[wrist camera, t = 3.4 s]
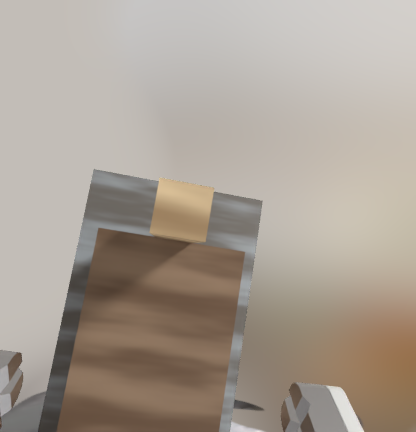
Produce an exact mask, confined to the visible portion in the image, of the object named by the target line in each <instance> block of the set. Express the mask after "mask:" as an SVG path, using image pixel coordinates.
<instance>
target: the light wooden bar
mask: <svg viewBox="0 0 416 432" xmlns="http://www.w3.org/2000/svg"><path fill="white" fill-rule="evenodd" d="M213 193H214V188H212V187H207V186H202V185H196V184H191V183H186V182H180V181H175V180H170V179H165V178H159V184H158V189H157V194H156V200H155V205H154V211H153V216H152V221H151V227H150V232H149V233H150V234H152V235H153V236H154V237H159V238H165V239H171V240H177V241H183V242H189V243H202V242H206V236H207V230H208V224H209V218H210V212H211V205H212V199H213Z"/></svg>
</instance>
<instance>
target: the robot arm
mask: <svg viewBox="0 0 416 432" xmlns="http://www.w3.org/2000/svg"><path fill="white" fill-rule="evenodd" d="M21 362H22V355H21V353H18V352H11V351H3V350H0V428H1V427H2V424H1V416H3V415H4V414H5V413H7V412H8V411H9V410H11V409H12V407H13V405H14V403H15V402H16V400H17V398H18V395H19V393H20V390H21V387H22V382H23V372H22V371H21V370H20V369H19V368H18V367H19V366H20V364H21ZM289 391H290V396H289V397H287V398H286V399H285V400H284V402H283V405H282V409H281V421H282V427H283V431H284V432H364V431H363V429H362V427H361V425H360V423H359V421H358V419H357V417H356V415H355V413H354V411H353V409H352V407H351V405H350V403H349V400H348V398H347V396H346V394H345V392H344V391H343V390H342V389H341V388H340V387H334V386H324V385H318V384H308V383H297V382H295V383H293V384H292V385H291V387H290V389H289Z"/></svg>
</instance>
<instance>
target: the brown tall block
mask: <svg viewBox="0 0 416 432" xmlns="http://www.w3.org/2000/svg"><path fill="white" fill-rule="evenodd" d="M158 184H159V181H154V180H148V179H143V178H137V177H132V176H127V175H121V174H116V173H111V172H106V171H100V170H95V169H94V171H93V176H92V180H91V185H90V190H89V195H88V199H87V204H86V209H85V213H84V218H83V223H82V227H81V232H80V237H79V242H78V246H77V251H76V256H75V260H74V265H73V270H72V274H71V280H70V284H69V289H68V293H67V298H66V303H65V307H64V312H63V317H62V322H61V326H60V331H59V336H58V341H57V345H56V350H55V355H54V359H53V364H52V369H51V373H50V378H49V383H48V387H47V392H46V397H45V402H44V406H43V411H42V416H41V420H40V425H39V430H38V432H230V427H231V420H232V413H233V406H234V399H235V392H236V385H237V377H238V371H239V363H240V356H241V349H242V342H243V335H244V328H245V321H246V314H247V307H248V300H249V293H250V286H251V279H252V271H253V265H254V258H255V251H256V244H257V237H258V230H259V223H260V216H261V208H262V201H260V200H255V199H250V198H244V197H239V196H234V195H228V194H223V193H218V192H214V193H213V199H212V205H211V212H210V218H209V224H208V230H207V236H206V242H202V243H189V242H183V241H177V240H171V239H165V238H159V237H154V236H153V235H152V234H150V233H149V232H150V227H151V221H152V216H153V211H154V205H155V200H156V194H157V189H158Z"/></svg>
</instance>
